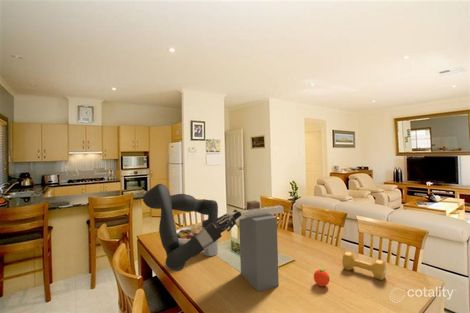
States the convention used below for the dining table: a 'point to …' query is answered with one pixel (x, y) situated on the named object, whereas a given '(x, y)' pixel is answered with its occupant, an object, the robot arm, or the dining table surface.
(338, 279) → the dining table surface
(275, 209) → the rod
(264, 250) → the stand
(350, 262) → the dumbbell
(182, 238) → the bowl
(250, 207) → the walnut block
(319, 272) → the tomato
